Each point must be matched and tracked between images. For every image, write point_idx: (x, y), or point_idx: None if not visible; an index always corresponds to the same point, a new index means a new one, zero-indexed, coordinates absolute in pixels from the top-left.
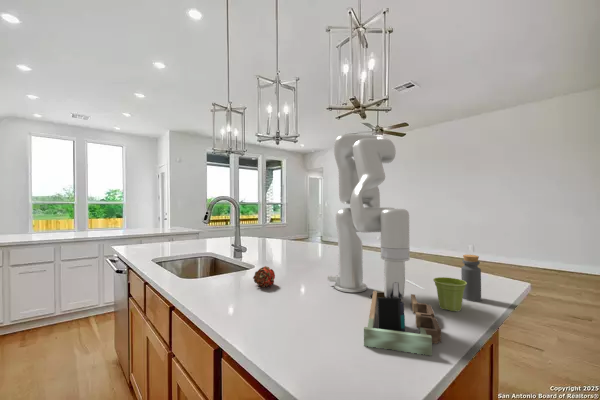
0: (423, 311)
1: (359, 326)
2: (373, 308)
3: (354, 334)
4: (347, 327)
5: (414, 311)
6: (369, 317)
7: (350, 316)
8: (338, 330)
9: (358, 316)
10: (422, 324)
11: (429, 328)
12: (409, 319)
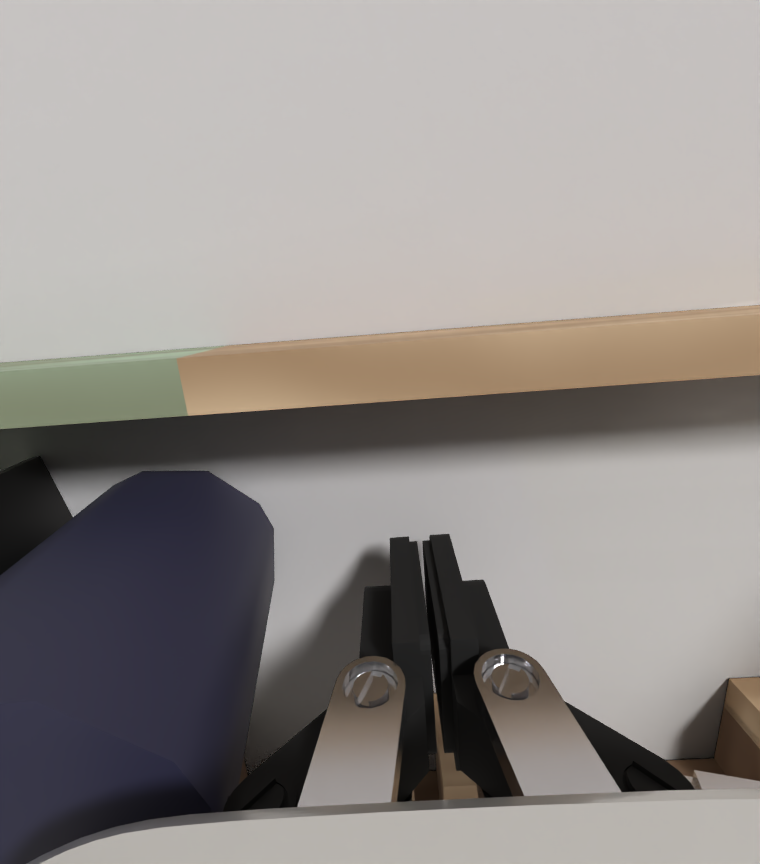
0: (736, 768)
1: (257, 237)
2: (540, 372)
3: (53, 220)
4: (171, 102)
5: (742, 701)
6: (202, 361)
7: (497, 63)
8: (43, 5)
9: (526, 172)
10: (437, 753)
11: (436, 765)
12: (581, 649)
